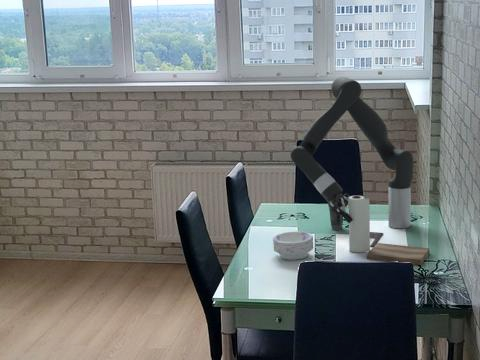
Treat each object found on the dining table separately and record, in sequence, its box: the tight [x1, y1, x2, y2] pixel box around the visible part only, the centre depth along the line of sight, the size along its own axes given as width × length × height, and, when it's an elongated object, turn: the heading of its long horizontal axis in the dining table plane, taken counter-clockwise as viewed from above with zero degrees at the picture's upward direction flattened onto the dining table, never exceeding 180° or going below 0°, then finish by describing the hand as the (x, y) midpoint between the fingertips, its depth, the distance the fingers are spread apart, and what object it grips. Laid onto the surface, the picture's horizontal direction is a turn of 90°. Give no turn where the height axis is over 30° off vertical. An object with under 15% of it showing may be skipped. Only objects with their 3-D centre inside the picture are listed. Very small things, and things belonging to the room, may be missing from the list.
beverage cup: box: [327, 201, 344, 231], centre depth 301 cm, size 7×7×20 cm
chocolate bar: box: [370, 231, 384, 248], centre depth 286 cm, size 9×1×18 cm
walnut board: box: [366, 242, 431, 266], centre depth 264 cm, size 14×20×2 cm
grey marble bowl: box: [272, 231, 314, 261], centre depth 269 cm, size 15×15×8 cm
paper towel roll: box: [348, 195, 371, 253], centre depth 270 cm, size 7×6×21 cm
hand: (355, 218), depth 270 cm, fingers open, 8 cm apart
